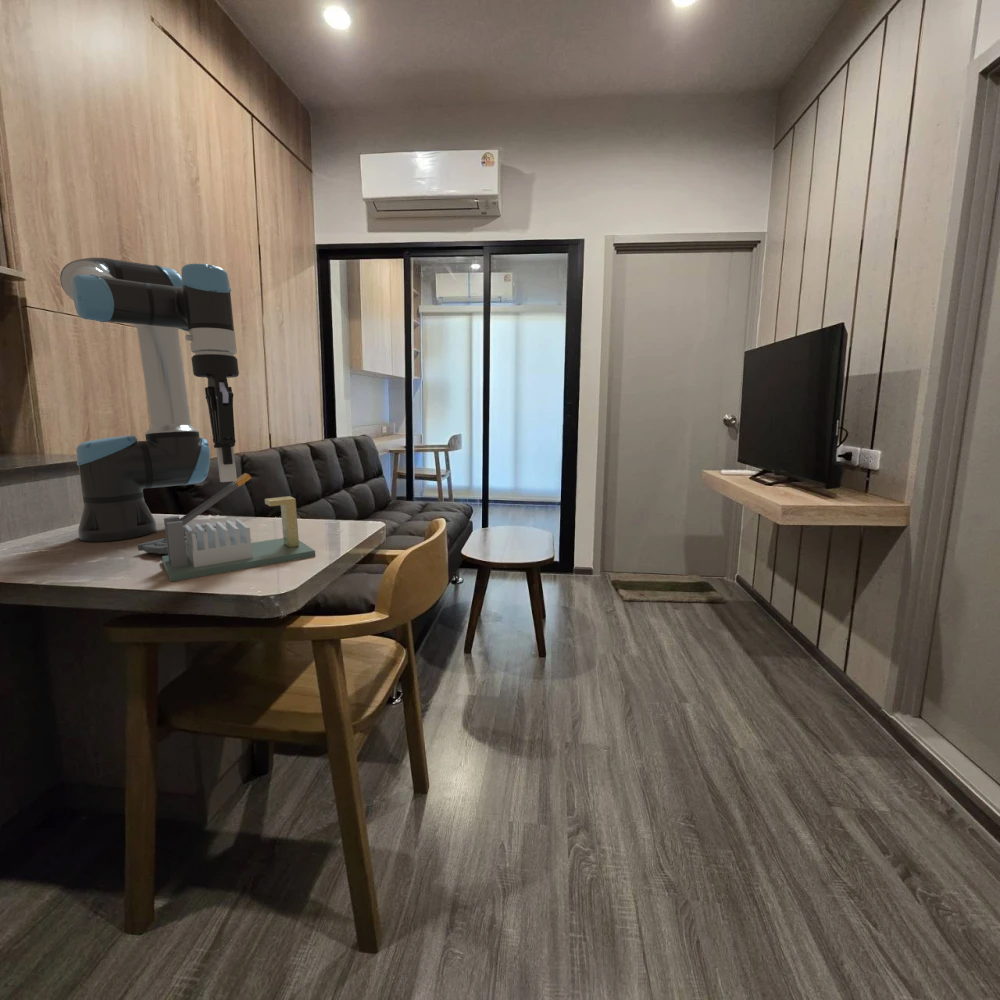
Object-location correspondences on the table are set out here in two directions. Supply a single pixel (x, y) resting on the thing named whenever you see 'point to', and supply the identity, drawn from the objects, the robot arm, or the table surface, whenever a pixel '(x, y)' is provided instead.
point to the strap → (215, 498)
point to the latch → (287, 518)
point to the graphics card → (160, 544)
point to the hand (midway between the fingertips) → (228, 481)
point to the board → (259, 559)
